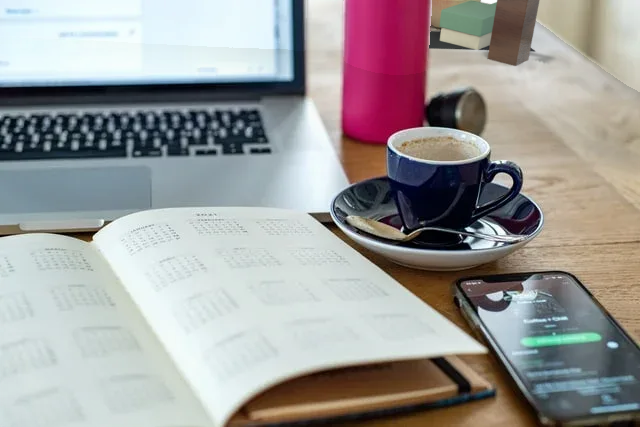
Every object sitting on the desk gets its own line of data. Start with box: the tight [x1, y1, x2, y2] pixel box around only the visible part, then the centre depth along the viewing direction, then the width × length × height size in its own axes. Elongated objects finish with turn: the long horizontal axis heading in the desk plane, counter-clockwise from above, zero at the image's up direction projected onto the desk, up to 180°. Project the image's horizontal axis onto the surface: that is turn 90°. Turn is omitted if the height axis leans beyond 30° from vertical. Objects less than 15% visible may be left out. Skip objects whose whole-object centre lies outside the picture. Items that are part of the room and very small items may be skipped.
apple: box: [430, 0, 482, 29], centre depth 132 cm, size 9×9×8 cm
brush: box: [439, 0, 497, 51], centre depth 128 cm, size 20×6×4 cm, turn 144°
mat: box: [428, 30, 536, 53], centre depth 125 cm, size 16×9×1 cm, turn 99°
